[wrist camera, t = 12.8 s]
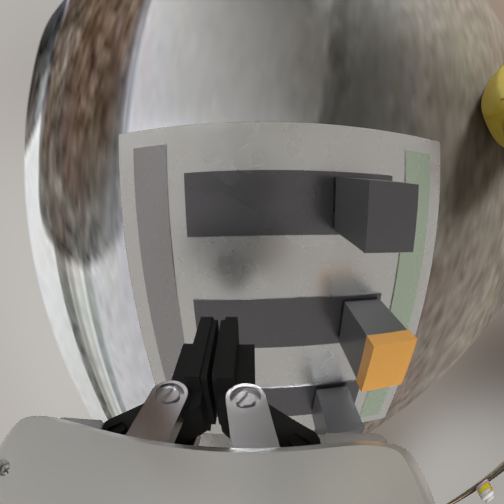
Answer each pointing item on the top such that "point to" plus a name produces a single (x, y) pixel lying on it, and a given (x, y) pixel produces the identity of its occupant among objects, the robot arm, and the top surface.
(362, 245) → the block
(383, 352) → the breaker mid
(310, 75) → the top surface
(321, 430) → the breaker far
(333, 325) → the panel
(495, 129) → the banana
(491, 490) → the supplement bottle
